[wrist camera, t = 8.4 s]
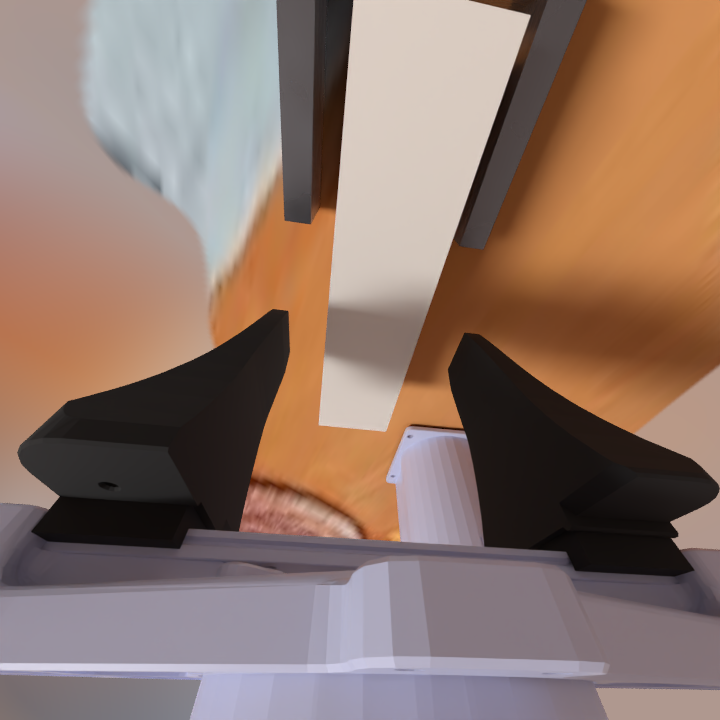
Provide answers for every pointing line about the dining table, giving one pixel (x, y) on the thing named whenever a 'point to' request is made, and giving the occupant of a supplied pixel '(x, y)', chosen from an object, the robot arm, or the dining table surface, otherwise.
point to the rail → (404, 183)
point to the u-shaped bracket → (507, 136)
